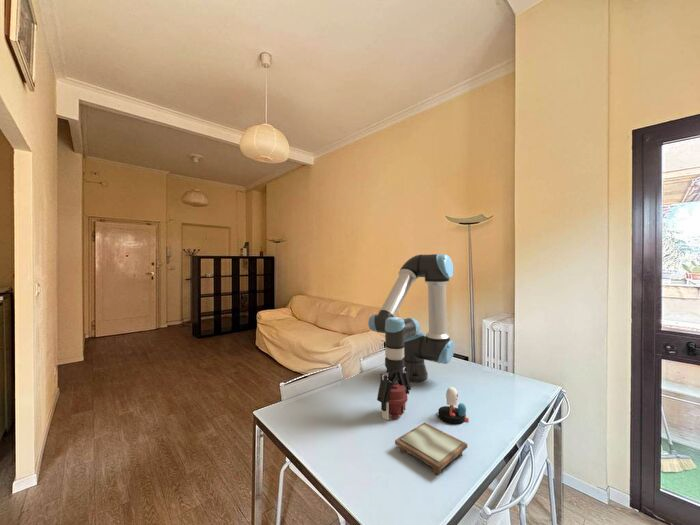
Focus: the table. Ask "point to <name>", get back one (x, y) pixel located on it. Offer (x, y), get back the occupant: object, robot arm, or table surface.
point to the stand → (431, 446)
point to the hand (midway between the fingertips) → (394, 413)
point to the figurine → (452, 409)
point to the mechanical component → (397, 400)
